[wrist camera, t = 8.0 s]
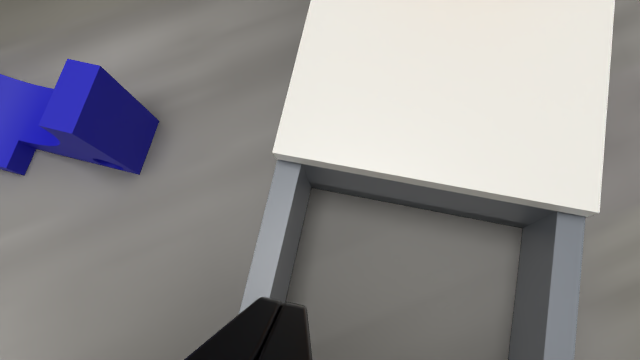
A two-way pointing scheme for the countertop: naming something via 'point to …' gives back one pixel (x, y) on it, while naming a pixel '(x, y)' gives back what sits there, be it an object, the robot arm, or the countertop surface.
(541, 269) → the frame
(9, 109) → the cable clip
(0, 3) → the countertop surface
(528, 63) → the lid
